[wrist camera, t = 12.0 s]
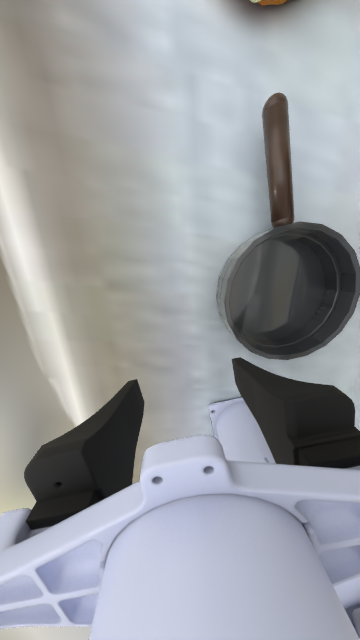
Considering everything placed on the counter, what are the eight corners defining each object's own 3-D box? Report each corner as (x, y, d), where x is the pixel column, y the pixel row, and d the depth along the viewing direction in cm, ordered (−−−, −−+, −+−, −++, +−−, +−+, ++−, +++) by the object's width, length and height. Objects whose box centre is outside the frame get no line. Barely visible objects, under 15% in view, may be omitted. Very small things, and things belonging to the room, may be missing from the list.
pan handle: (287, 230, 18) (299, 226, 17) (268, 234, 18) (278, 231, 17) (278, 102, 16) (292, 82, 14) (257, 108, 16) (267, 88, 14)
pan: (328, 331, 24) (359, 344, 20) (225, 354, 24) (235, 371, 20) (327, 217, 20) (363, 206, 16) (206, 246, 21) (214, 241, 17)
